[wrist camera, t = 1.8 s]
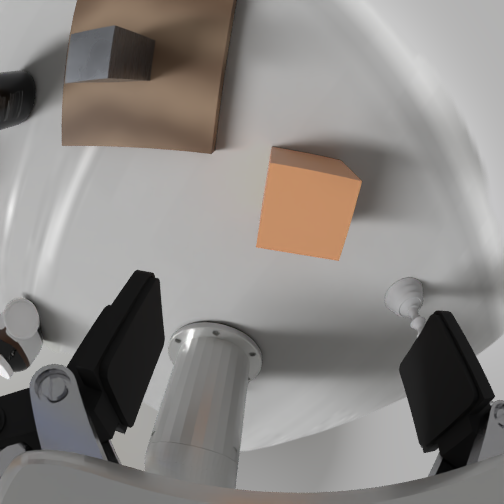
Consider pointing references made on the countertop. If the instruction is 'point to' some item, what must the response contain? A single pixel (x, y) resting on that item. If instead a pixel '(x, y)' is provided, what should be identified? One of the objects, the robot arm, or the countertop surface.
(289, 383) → the countertop surface
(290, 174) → the peach colored cube
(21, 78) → the supplement bottle
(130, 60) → the metal post
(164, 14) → the walnut board
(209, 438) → the robot arm
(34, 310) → the spread jar
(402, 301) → the chalice
